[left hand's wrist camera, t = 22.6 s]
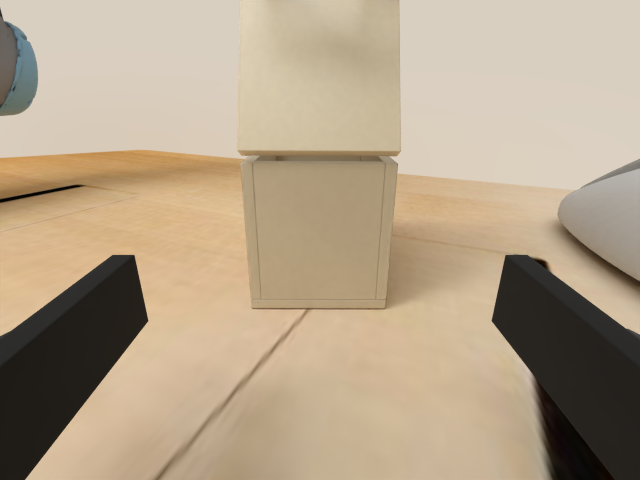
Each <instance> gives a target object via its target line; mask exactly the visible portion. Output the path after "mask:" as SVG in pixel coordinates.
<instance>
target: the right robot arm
mask: <svg viewBox="0 0 640 480" xmlns="http://www.w3.org/2000/svg"><path fill="white" fill-rule="evenodd" d="M37 84H38V70H37V62H36V58H35V54H34V51H33V49H32V46H31V44H30V42H28V41H27V37H26V36H25V34H24V33H23V32H22V31H21V30H20V29H19V28H18V27H16V26H14V25H12V24H11V23H9V22H6V21H4V20H3V17H2V13H1V10H0V116H6V115H15V114H19V113H21V112H23V111H25V110H26V109H27V108H28V107H29V106H30V104H31V103H32V100H33V98H34V97H35V94H36V91H37Z"/></svg>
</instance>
